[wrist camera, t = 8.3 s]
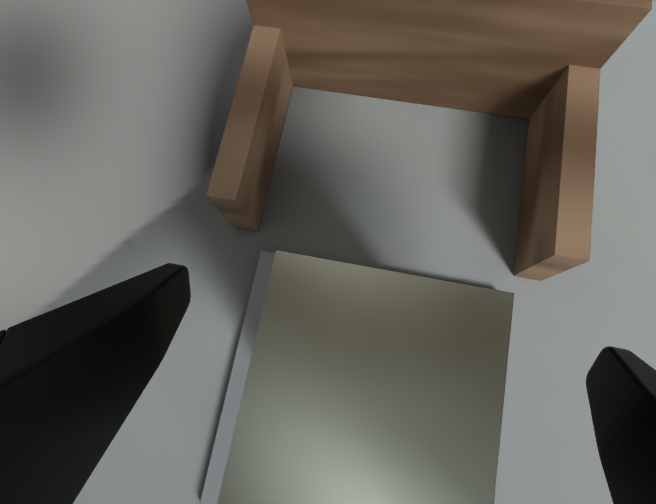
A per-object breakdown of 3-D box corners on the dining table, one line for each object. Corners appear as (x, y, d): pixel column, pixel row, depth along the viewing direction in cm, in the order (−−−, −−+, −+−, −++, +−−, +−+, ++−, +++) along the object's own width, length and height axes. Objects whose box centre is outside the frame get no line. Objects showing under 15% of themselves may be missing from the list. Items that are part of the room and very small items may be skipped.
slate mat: (471, 572, 16) (475, 579, 16) (202, 506, 18) (198, 510, 17) (500, 295, 19) (504, 294, 18) (263, 252, 20) (260, 250, 20)
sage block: (411, 450, 17) (487, 569, 7) (291, 423, 18) (216, 503, 8) (428, 327, 18) (514, 292, 9) (315, 305, 19) (275, 250, 9)
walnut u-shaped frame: (541, 280, 19) (646, 237, 12) (233, 226, 20) (174, 161, 14) (556, 101, 21) (652, -21, 14) (276, 63, 23) (242, -64, 16)
